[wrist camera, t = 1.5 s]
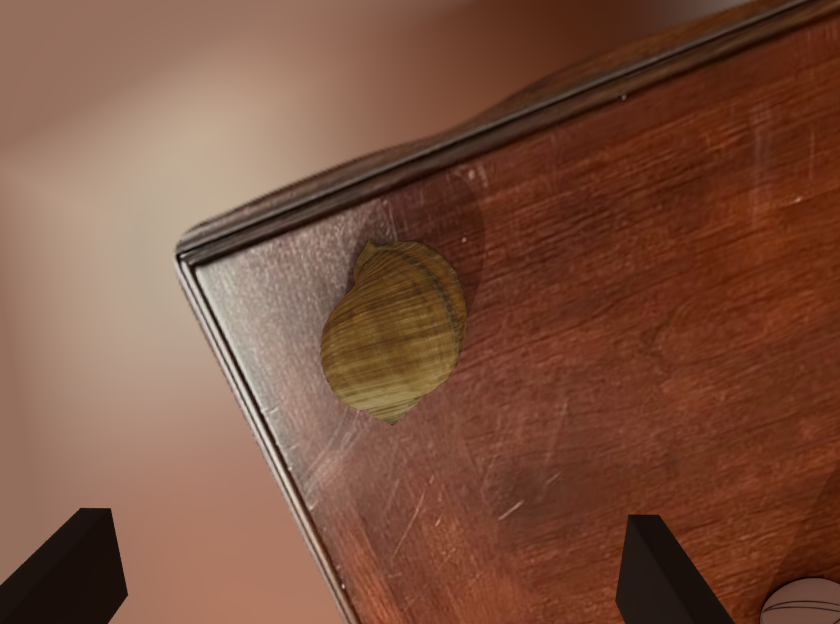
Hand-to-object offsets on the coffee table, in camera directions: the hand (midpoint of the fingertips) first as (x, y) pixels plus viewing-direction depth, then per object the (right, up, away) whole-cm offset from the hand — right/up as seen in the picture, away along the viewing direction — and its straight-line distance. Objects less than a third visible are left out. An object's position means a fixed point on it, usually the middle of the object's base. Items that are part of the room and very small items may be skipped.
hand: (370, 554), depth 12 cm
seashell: (0, +6, +15) cm, 16 cm away
